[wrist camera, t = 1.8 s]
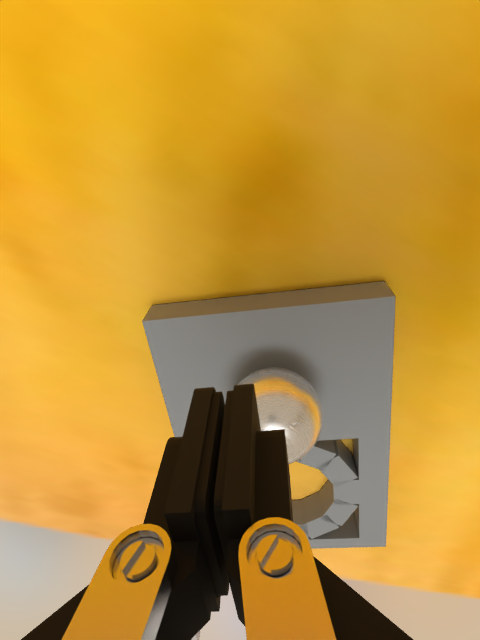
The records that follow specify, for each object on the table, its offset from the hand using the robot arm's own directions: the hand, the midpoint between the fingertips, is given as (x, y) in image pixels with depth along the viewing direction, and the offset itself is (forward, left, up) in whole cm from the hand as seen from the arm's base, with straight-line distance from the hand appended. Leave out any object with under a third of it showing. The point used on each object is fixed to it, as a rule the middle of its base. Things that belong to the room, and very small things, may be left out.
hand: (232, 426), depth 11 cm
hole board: (0, +15, -16) cm, 22 cm away
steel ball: (0, +9, -11) cm, 14 cm away
